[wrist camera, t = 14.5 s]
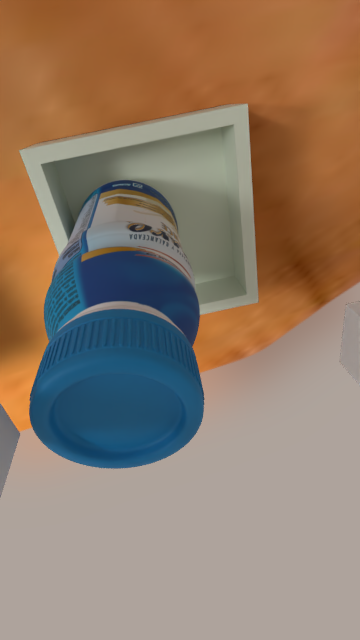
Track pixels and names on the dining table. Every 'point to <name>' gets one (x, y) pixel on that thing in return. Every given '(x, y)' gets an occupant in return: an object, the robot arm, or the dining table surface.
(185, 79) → the dining table surface
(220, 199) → the green box
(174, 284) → the beverage bottle
